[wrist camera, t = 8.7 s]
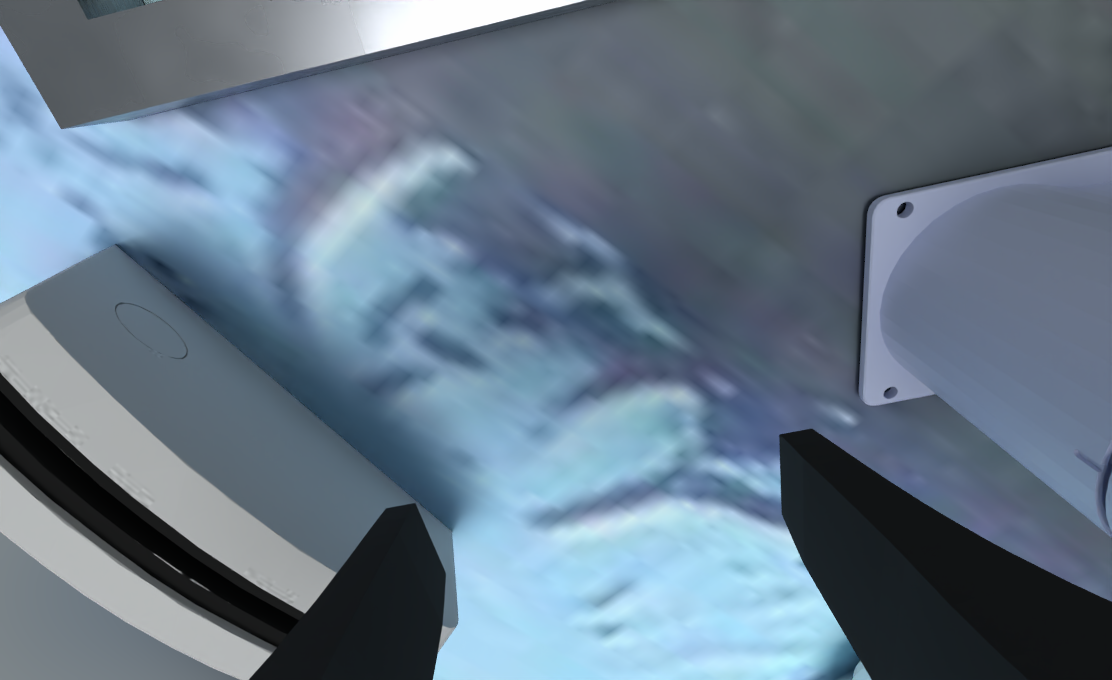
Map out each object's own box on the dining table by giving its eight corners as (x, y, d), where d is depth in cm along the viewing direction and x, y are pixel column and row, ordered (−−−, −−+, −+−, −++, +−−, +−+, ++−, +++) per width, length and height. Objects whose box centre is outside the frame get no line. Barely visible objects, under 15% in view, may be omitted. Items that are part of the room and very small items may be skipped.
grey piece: (19, 325, 19) (-333, 446, 9) (129, 235, 19) (-106, 266, 10) (373, 586, 25) (370, 812, 16) (451, 514, 25) (493, 695, 16)
